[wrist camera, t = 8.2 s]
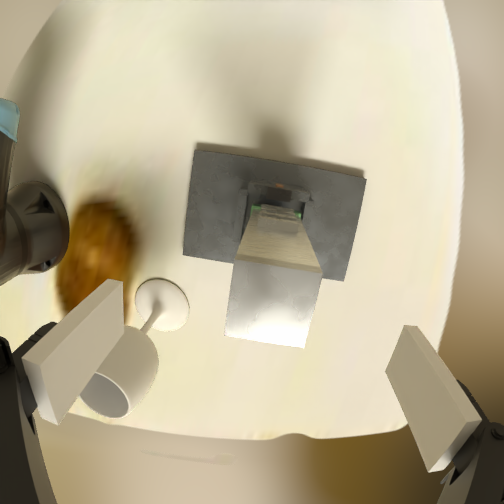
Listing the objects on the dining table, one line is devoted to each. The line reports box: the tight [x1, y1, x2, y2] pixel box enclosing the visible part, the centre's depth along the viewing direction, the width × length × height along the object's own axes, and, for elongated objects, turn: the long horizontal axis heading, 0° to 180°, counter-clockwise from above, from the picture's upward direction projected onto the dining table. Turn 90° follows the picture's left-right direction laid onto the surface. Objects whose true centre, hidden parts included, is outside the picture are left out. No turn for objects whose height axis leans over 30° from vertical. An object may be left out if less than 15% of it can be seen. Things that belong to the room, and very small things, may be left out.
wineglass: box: [79, 279, 189, 419], centre depth 37 cm, size 9×9×21 cm
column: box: [224, 204, 323, 348], centre depth 26 cm, size 5×5×19 cm
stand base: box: [183, 150, 367, 281], centre depth 37 cm, size 22×14×10 cm, turn 81°
